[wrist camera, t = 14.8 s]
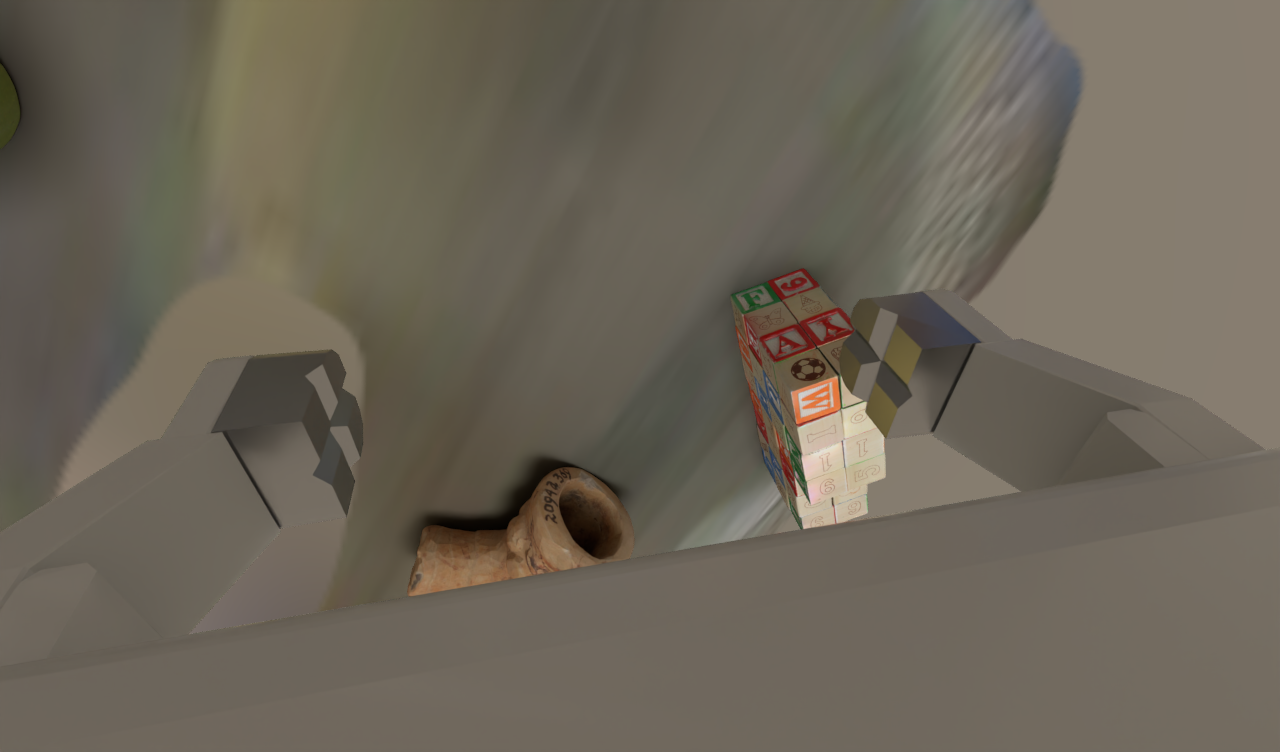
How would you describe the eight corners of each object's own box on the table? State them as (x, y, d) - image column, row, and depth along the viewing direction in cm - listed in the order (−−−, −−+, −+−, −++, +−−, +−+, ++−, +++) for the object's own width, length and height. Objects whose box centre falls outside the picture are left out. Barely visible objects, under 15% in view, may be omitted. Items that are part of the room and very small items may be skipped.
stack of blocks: (821, 441, 58) (886, 543, 49) (763, 462, 59) (817, 567, 49) (803, 265, 45) (889, 359, 35) (727, 293, 45) (792, 394, 35)
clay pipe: (594, 515, 64) (643, 454, 53) (604, 617, 58) (661, 573, 47) (412, 515, 57) (423, 444, 46) (403, 630, 51) (412, 582, 40)
